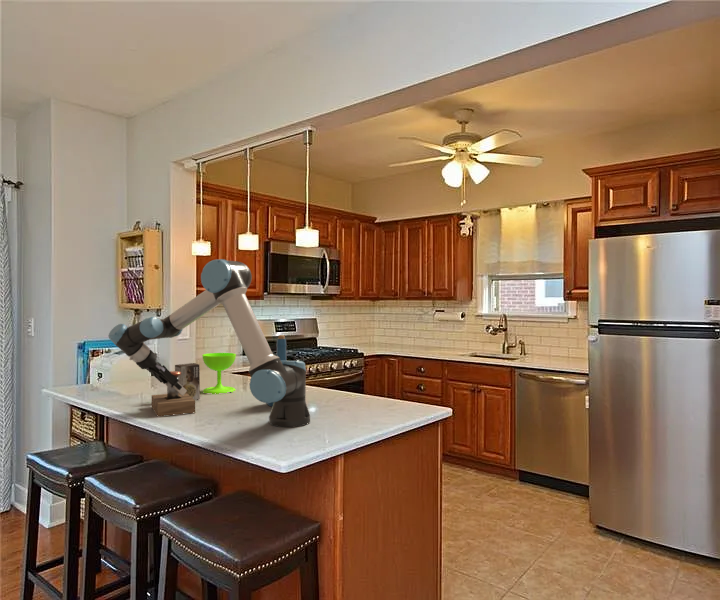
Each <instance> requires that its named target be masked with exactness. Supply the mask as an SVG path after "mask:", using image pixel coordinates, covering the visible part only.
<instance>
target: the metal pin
mask: <svg viewBox="0 0 720 600" xmlns="http://www.w3.org/2000/svg"><path fill="white" fill-rule="evenodd" d="M169 371H170V370H169ZM170 372H171V373H172V374H173V375H174V376H175V377H176V378H177V379H178V380H179V375H181V372H180V371H175V370H173V371H172V370H171V371H170ZM178 382H179V381H178ZM171 386H172V385H171V384H170V383H169V382H168V381H167V386H166V390H167V391H166V392H167V393H166V394H167V400H169V399H179V392H177V391H176V390H175V389H174V388H173V387H171Z"/></svg>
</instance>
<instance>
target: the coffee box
mask: <svg viewBox="0 0 720 600" xmlns="http://www.w3.org/2000/svg"><path fill="white" fill-rule="evenodd" d="M174 371H180V372H181V375H179V383H180V384H181V385H182V386H183V387H184V388H185V389H186V390H187V392H186V393H187V394H188V395H190V396H191V397H192V398H193V399H194V400H195V401H198V400H197V399H201V387H200V386H201V385H200V383H201V382H200V363H195V362H194V363H193V362H189V363H180V364H174Z"/></svg>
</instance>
